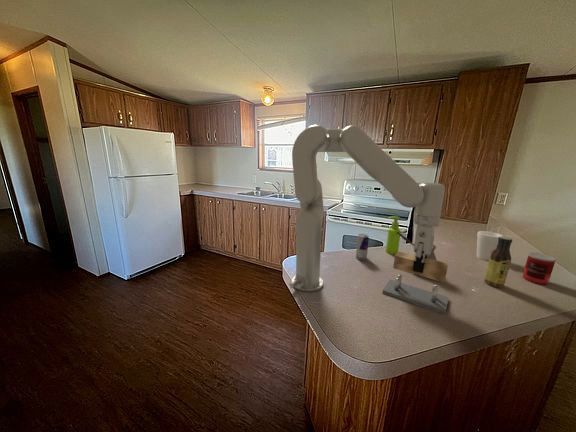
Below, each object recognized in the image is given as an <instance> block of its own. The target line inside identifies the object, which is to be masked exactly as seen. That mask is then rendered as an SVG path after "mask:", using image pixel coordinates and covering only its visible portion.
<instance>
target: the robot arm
mask: <svg viewBox="0 0 576 432" xmlns="http://www.w3.org/2000/svg"><path fill="white" fill-rule="evenodd" d="M291 153H292V154H291V160H292V169H293V170H292V172H293V183H294V194H295V198H296V199H297V201H298V202H299V204H300V209H299V211H298V213H297V215H296V219H295V234H296V235H295V237H296V242H295V243H296V244H295V245H296V246H295V247H296V254H295V255H296V256H295V259H296V260H295V275H294V277H292V279H291V282H289V287H290V288H291V289H293V288H295V289H297V290H299V291H301V292H302V291H303V292H308V293H309V292H316V291H319V290H320V289H322V288H323V286H324V280H323V278H322V277H321V273H320V272H321V258H322V257H321V253H322V230H323V229H322V226H323V221H324V216H325V213H324V209H325V208H324V196H323V188H322V187H323V186H322V183H321V181H320V180H319V179H318V170H317V169H318V167H317V166H318V165H317V154H318V153H346V154H347V155H348V156H349V157H350V158H351V159H352V160H353V161H354V162H355V163H356V164H357V165H358V166H359V167H360V169H362V170H363V171H364V172H365V173H366V174H367V175H368V176H370V177H371V178H372V179H373V180H376V181H377V182H378V183H379V184H380V185H381V186H383V188H384V189H385V190H386V191H387V192H389V193H390V195H391V196H392V198H393V200H394V201H396V202H397V203H399V204H400V205H401V206H403V207H404V208H411V209H412V208H415V211H414V217H413V224H414V225H416V228H415V234H414V241H413V244H414V246H413V253H415V260H414V264H413V271H415V272H419V273H423V270H424V264H425V262H424V258H427V255H430V253H431V251H432V249H433V245H434V240H435V234H436V228H437V227H439V226H440V223H441V215H442V210H443V203H444V198H445V191H446V187H445V185H444V184H442V183H438V182H423V183H420V182H417V181H416V180H415V179H414V178H413V177H412V176H411V175H409V174H408V172H406V170H405V169H403V167H401V166H400V165H399V164H397V163H396V161H395V160H394V159H392V157H391V156H389V154H387V153H386V152H385V151H384V150H383V149H382V147H380V146H379V145H378V144H377V143H376V142H375V141H374V140H373V138H371V136H369V134H367V133H366V131H364V130H363V129H362V128H361V127H360V126H358V125H354V124H352V125H351V124H350V125H348V126H346V127H345V128H325V127H324V126H322V125H320V124H313V125H310V126H307V127H306V128H305V129H303V130H302V131H301V132H300V133H299V135H297V138H295V141H294V143H293V146H292V151H291Z"/></svg>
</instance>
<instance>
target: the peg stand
mask: <svg viewBox="0 0 576 432" xmlns="http://www.w3.org/2000/svg"><path fill="white" fill-rule="evenodd" d="M394 279H395V280H392V279H389V280H388V281H387V283H386V284H385V285H384V288H383V289H382V294H384V295H388V296H390V297H394V298H397V299H399V300H402V301H405V302H408V303H411V304H414V305H417V306H420V307H423V308H425V309H428V310H432V311H434V312H437V313H441V314H443V315H446V312H447V307H448V301H449V297H448V296H445V295H442V294H439V290H440V289H439V288H440V285H439V284H436V283H434V284H433V286H432V290H431V291H429V290H426V289H424V288H419V287H417V286H412V285H409V284H407V283H403V282H402V279H403V275H402V274H400V273H398V274H397V275H396V276H395V278H394Z"/></svg>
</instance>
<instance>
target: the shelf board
mask: <svg viewBox="0 0 576 432" xmlns="http://www.w3.org/2000/svg"><path fill="white" fill-rule="evenodd" d="M414 260H415V255H414V254H411V253H410V254H409V253H406V252H402V251H398V253H397V254H395V255H394V260H393V269H394V270H398V271H403V272H406V273H408V274H412V275H415V276H421V277H424V278H428V279H432V280H435V281H438V282H442V283H445V281H446V277H447V272H448V268H449V262H446V261H445V262H444V261H441V260H437V259H436V260H437V261H436V260H432V259H428V258H424V262H425V264H424V270H423V273H419V272H415V271H413V264H414Z"/></svg>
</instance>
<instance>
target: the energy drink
mask: <svg viewBox="0 0 576 432" xmlns="http://www.w3.org/2000/svg"><path fill="white" fill-rule="evenodd" d="M356 240H357V241H356V252H355V253H356V254H355V258H356V259H357V260H360V261H361V260H362V261H364V260H365V261H366V260H367V258H368V251H369V250H368V249H369V248H368V247H369V240H370V239H369V235H368V234H365V233H359V234H358V235H357V239H356Z"/></svg>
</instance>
